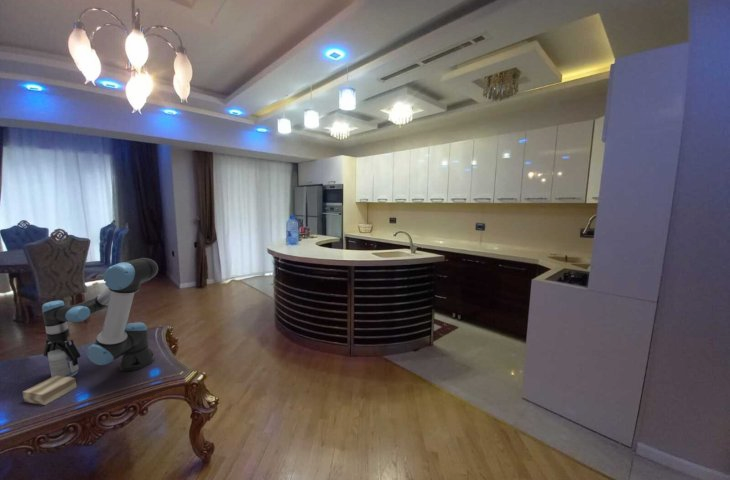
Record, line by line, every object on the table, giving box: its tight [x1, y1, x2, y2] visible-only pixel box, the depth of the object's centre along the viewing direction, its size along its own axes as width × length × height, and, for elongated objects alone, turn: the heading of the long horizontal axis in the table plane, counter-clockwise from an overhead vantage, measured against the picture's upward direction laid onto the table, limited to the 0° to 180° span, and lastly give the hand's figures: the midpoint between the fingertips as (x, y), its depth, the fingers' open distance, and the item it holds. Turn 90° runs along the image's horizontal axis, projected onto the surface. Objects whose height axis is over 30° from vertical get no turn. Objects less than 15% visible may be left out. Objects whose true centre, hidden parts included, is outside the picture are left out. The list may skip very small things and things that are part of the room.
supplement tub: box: [47, 349, 79, 378], centre depth 143 cm, size 10×10×15 cm
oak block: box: [22, 375, 77, 406], centre depth 131 cm, size 12×12×5 cm
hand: (64, 369), depth 144 cm, fingers open, 13 cm apart
